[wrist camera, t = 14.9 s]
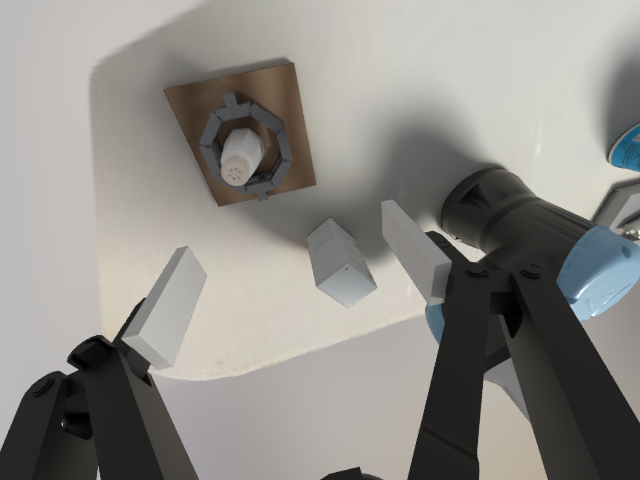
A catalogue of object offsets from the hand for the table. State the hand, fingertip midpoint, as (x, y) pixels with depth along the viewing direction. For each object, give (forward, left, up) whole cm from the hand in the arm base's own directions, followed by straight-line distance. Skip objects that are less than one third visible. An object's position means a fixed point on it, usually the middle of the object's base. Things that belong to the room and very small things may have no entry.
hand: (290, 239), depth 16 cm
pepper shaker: (+5, -2, -23) cm, 23 cm away
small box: (-5, +18, -24) cm, 30 cm away
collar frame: (+4, -2, -24) cm, 24 cm away
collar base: (+4, -2, -24) cm, 24 cm away
